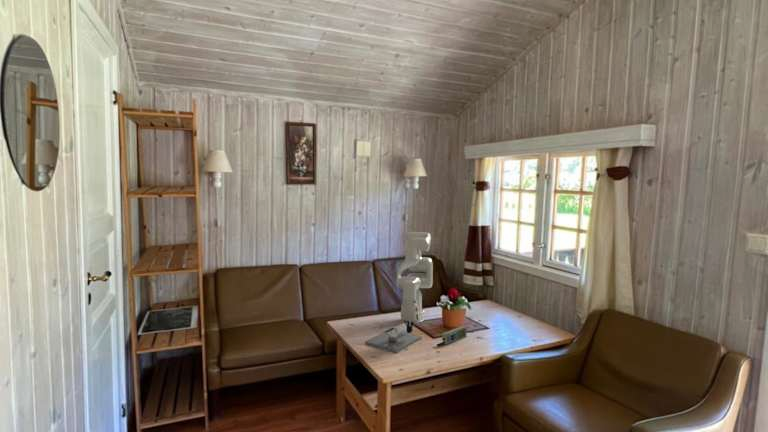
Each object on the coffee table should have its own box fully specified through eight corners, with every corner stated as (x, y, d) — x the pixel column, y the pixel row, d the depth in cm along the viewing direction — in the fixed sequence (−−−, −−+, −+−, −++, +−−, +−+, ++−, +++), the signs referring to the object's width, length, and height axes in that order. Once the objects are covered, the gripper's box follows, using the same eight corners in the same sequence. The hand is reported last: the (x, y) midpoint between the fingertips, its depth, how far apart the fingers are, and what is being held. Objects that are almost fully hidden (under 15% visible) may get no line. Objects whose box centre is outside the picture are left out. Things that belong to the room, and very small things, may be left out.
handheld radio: (467, 337, 257) (440, 348, 241) (463, 335, 260) (435, 346, 243) (467, 326, 257) (439, 336, 240) (462, 324, 259) (435, 335, 243)
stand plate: (391, 330, 267) (391, 327, 267) (421, 338, 254) (421, 335, 254) (365, 343, 247) (365, 340, 247) (396, 353, 234) (396, 350, 233)
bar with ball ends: (406, 330, 262) (406, 318, 261) (413, 332, 259) (413, 320, 258) (382, 343, 242) (382, 330, 242) (389, 345, 239) (389, 332, 239)
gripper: (424, 302, 245) (423, 333, 247) (402, 297, 254) (402, 327, 256) (417, 305, 239) (416, 337, 241) (395, 300, 248) (395, 331, 250)
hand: (409, 332), depth 248 cm, fingers closed
